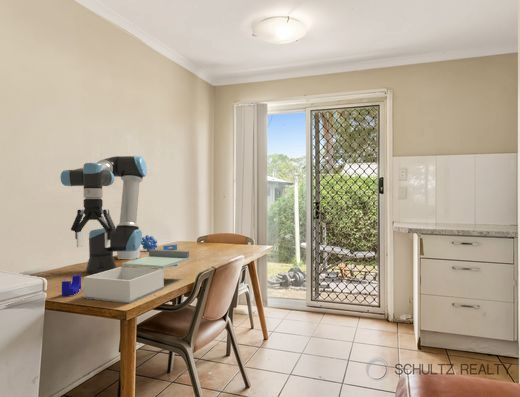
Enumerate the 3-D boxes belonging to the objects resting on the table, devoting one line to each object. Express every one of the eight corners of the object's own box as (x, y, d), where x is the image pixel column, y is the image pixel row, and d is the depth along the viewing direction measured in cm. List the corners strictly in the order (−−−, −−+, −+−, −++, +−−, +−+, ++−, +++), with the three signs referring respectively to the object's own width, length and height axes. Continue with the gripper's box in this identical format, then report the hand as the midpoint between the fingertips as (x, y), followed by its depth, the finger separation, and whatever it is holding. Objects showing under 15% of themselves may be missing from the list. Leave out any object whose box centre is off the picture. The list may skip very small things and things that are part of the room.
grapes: (140, 252, 254) (140, 236, 254) (140, 251, 261) (140, 235, 261) (157, 251, 258) (157, 235, 258) (157, 250, 264) (157, 234, 264)
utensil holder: (135, 260, 226) (135, 232, 226) (112, 260, 226) (112, 232, 226) (143, 256, 241) (143, 230, 241) (121, 256, 241) (121, 230, 241)
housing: (83, 298, 142) (83, 277, 141) (122, 285, 162) (121, 266, 162) (130, 303, 134) (129, 281, 134) (163, 288, 155) (163, 269, 155)
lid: (121, 265, 162) (121, 256, 162) (151, 257, 183) (151, 249, 183) (163, 268, 155) (163, 258, 155) (189, 259, 176) (189, 251, 176)
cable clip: (73, 296, 146) (73, 281, 146) (61, 296, 145) (61, 282, 145) (84, 288, 158) (84, 275, 158) (74, 289, 157) (73, 275, 157)
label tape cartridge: (174, 264, 210) (174, 243, 210) (177, 265, 207) (177, 244, 207) (160, 266, 204) (160, 245, 204) (163, 267, 201) (163, 245, 201)
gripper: (61, 198, 155) (62, 247, 155) (113, 198, 150) (114, 248, 150) (73, 198, 162) (74, 245, 162) (123, 198, 157) (124, 246, 157)
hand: (93, 247), depth 156 cm, fingers open, 13 cm apart
